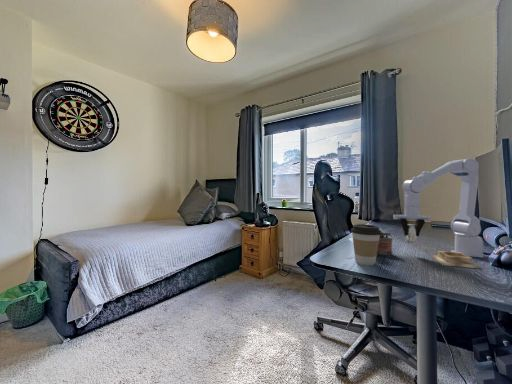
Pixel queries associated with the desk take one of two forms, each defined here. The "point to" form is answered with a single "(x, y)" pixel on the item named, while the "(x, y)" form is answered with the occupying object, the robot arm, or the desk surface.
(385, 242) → the hip flask
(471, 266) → the dock socket
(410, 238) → the spigot peg
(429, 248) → the desk surface
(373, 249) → the coffee cup
